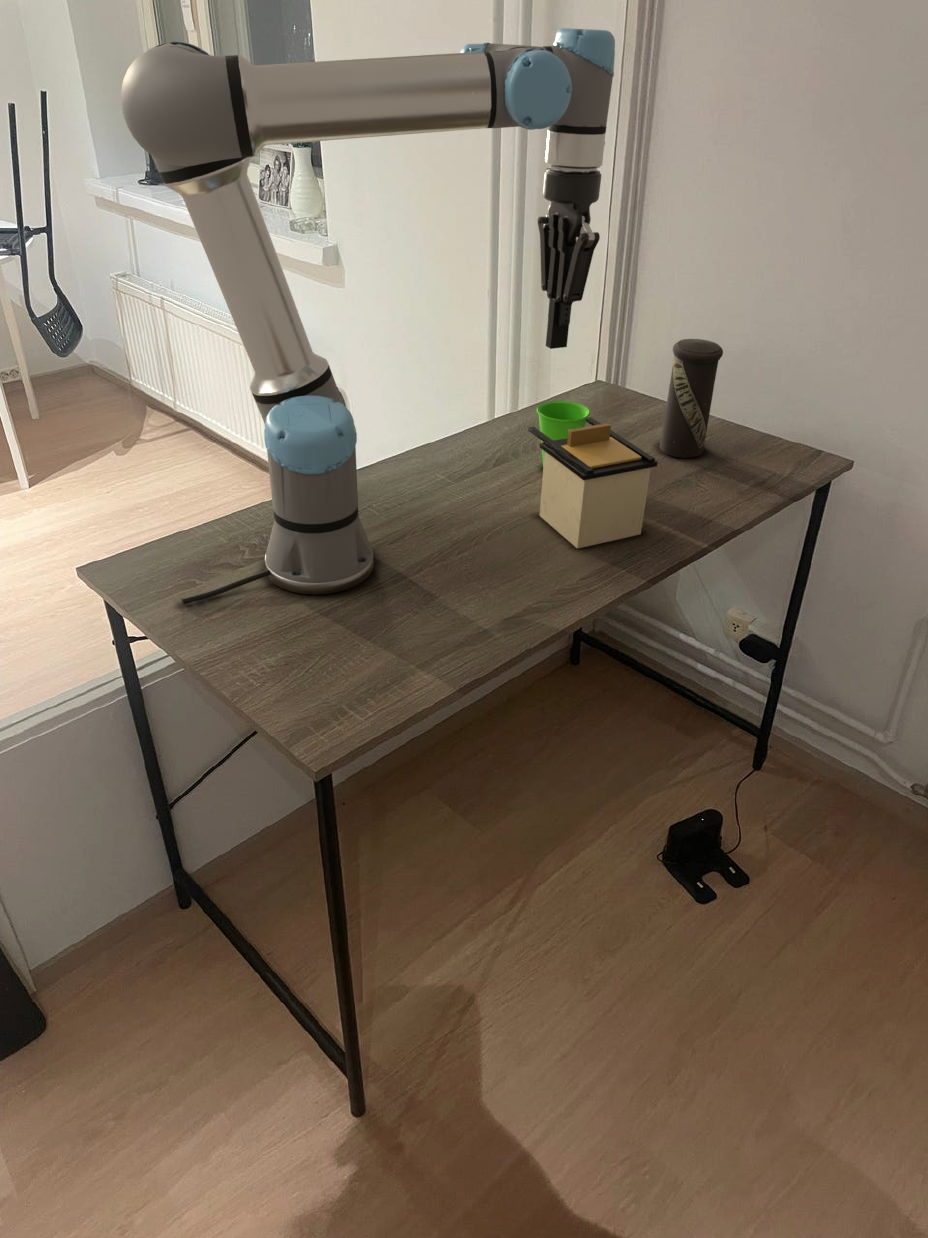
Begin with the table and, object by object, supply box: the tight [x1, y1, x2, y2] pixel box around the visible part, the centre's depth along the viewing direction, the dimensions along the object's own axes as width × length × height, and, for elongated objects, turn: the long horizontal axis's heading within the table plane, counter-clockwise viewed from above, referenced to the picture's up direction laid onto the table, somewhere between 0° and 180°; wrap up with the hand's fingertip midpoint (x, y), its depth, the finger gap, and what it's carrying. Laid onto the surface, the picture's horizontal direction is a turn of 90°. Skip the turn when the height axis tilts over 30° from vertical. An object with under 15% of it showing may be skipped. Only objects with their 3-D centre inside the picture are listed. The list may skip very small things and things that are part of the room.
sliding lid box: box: [527, 416, 658, 549], centre depth 142 cm, size 13×18×13 cm
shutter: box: [561, 422, 642, 468], centre depth 135 cm, size 9×8×3 cm
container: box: [659, 338, 724, 459], centre depth 164 cm, size 9×9×20 cm
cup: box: [536, 400, 591, 467], centre depth 158 cm, size 9×9×11 cm
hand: (556, 346), depth 133 cm, fingers closed
